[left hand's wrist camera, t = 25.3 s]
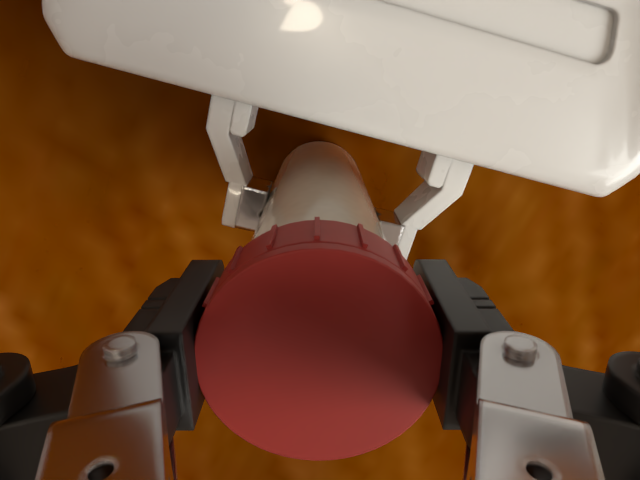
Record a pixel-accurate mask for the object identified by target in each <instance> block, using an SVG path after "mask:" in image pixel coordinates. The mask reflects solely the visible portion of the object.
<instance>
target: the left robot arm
mask: <svg viewBox="0 0 640 480" xmlns="http://www.w3.org/2000/svg"><path fill="white" fill-rule="evenodd" d="M413 270H414V272H415V274H416V276H417V275H419V274H420V276H421V278H422V280H423V282H424V284H425V286H426V288H427V290H428V292H429V294H430V296H431V298H432V300H433V302H434V304H432V305H431V307H432V310H433V312H434V314H435V316H436V318H437V321H438V323H439V326H440V330H441V334H442V338H443V349H442V359H441V368H440V377H439V384H438V387H437V390H436V393H435V394H434V396H433V401H434V404H435V407H436V410H437V413H438V416H439V419H440V422H441V425H442V427H443V430H461V431H462V433H463V436H464V439H465V441H466V447H465V454H464V465H463V476H462V480H640V352H620V353H616V354H614V355H612V356H611V357H610V359H609V361H608V365H607V368H606V372H605V373H599V372H594V371H589V370H583V369H578V368H573V367H568V366H564V365H562V364H561V359H560V356H559V354H558V353H557V351H556V350H555V349H554V348H553V347H552V346H550V345H549V344H548V343H546V342H544V341H543V340H541V339H539V338H536V337H534V336H531V335H528V334H525V333H520V332H514V331H513V329H512V328H511V327H510V325H509V324H508V322H507V321H506V320H505V318H504V317H503V316H502V314H501V313H500V312H499V310H498V309H496V306H495V305H494V304H493V302H492V301H491V300H489V297H488V295H487V294H486V293H485V291H484V290H483V289H482V287H480V286H479V285H477V284H476V283H474V282H472V281H471V280H469V279H467V278H457V276H456V275H455V273H454V272H453V270H452V269H451V267H450V266H449V264H448V263H447V261H446V260H416V261H415V263H414V269H413ZM223 271H224V265H223V262H222V260H192V261H191V262H190V264H189V265H188V267H187V268H186V270H185V271H184V273H183V274H182V276H181V277H180V278H171V279H169V280H167V281H166V282H164V283H162V284H161V285H159V286H157V287H156V288H155V289H154V291H153V292H152V293H151V295H150V296H149V297H148V300H146V301H145V303H144V304H143V305H142V307H141V309H139V311H138V312H137V313H136V315H135V316H134V317H133V319H132V320H131V321H130V323H129V324H128V325H127V327H126V328H125V329H124V331H123V332H120V333H115V334H112V335H109V336H106V337H104V338H101V339H99V340H97V341H96V342H94V343H92V344H91V345H90V346H88V347H87V348H86V349H85V350H84V351H83V353H82V354H81V356H80V359H79V364H78V365H75V366H71V367H67V368H62V369H57V370H51V371H46V372H41V373H35V374H33V372H32V369H31V365H30V361H29V359H28V358H27V357H26V356H24V355H22V354H18V353H0V480H178V476H177V465H176V454H175V447H174V440H173V436H174V433H175V431H176V430H194V428H195V425H196V422H197V419H198V416H199V414H200V411H201V408H202V405H203V402H204V399H205V397H204V395H203V393H202V391H201V389H200V386H199V383H198V376H197V367H196V358H195V348H194V342H195V335H196V331H197V328H198V324H199V321H200V319H201V317H202V315H203V313H204V310H205V307H202V305H203V303H204V301H205V299H206V297H207V295H208V293H209V291H210V289H211V287H212V285H213V283H214V281H215V279H216V277H219V278H220V277H221V275H222V273H223Z"/></svg>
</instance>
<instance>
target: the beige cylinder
mask: <svg viewBox="0 0 640 480" xmlns="http://www.w3.org/2000/svg"><path fill="white" fill-rule="evenodd" d="M315 217H320V220H331V221H339V222H344V223H349V224H352V225H355V226H357V225H358V223H359V224H362V225H363V228H364V229H366V230H368V231H370V232H372V233H374V234H376V235H378V236H380V237H381V238H383V239H384V240H386V237H385V235H384V232H383V230H382V227H381V225H380V222H379V220H378V217H377V215H376V212H375V210H374V207H373V205H372V202H371V200H370V197H369V195H368V192H367V189H366V187H365V184H364V182H363V179H362V177H361V174H360V172H359V169H358V167H357V165H356V163H355V161H354V159H353V158H352V157H351V156H350V154H349V153H348V152H346V151H345V150H344V149H343V148H341V147H339V146H337V145H335V144H333V143H329V142H323V141H314V142H309V143H306V144H303V145H301V146H299V147H297V148H296V149H294V150H293V151H292V152H291V153H290V154H289V155H288V156H287V157H286V158H285V160H284V161H283V163H282V165H281V167H280V170H279V172H278V175H277V177H276V180H275V182H274V185H273V187H272V190H271V192H270V195H269V197H268V200H267V202H266V205H265V207H264V210H263V212H262V215H261V217H260V220H259V222H258V224H257V227H256V229H255V232H254V234H253V237H252V239H251V241H252V240H253V239H255V238H257V237H258V236H260V235H261V234H263V233H265V232H267V231H270V230H271V228H272V226H273V225H275V224H277V227H279V226H283V225H286V224H289V223H294V222H299V221H305V220H315ZM386 241H387V240H386Z"/></svg>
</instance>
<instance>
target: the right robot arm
mask: <svg viewBox="0 0 640 480" xmlns="http://www.w3.org/2000/svg"><path fill="white" fill-rule="evenodd" d="M42 12H43V16H44V19H45V21H46V23H47V24H48V26H49V28H50V30H51V31H52V33H53V35H54V37H55V39H56V40H57V42H58V44H59V45H60V47H61V48H62V50H63V51H64V52H65V53H66V54H67V55H68V56H70V57H73V58H76V59H80V60H83V61H87V62H91V63H94V64H98V65H102V66H106V67H109V68H113V69H117V70H121V71H125V72H128V73H132V74H136V75H140V76H143V77H147V78H151V79H155V80H158V81H162V82H166V83H170V84H173V85H177V86H181V87H185V88H188V89H192V90H196V91H200V92H203V93H207V94H211V100H210V106H209V112H208V118H207V124H206V130H207V133H208V135H209V138H210V141H211V143H212V146H213V149H214V152H215V154H216V157H217V160H218V162H219V165H220V168H221V170H222V173H223V176H224V178H225V181H227V182H229V185H228V190H227V195H226V201H225V206H224V211H223V216H222V225H226V226H229V227H233V228H239V229H244V230H248V231H253V232H255V229H256V227H257V224H258V222H259V220H260V217H261V215H262V212H263V210H264V207H265V205H266V202H267V200H268V197H269V195H270V191H271V187H272V182H273V181H269V180H265V179H262V178H258V177H254V176H253V173H252V170H251V166H250V163H249V160H248V157H247V154H246V150H245V147H244V144H243V141H242V138H241V137H243V136H245V135H246V134H247V133H248V132H250V131H251V130H252V129H253V128H254V126H255V121H256V116H257V112H258V107H260V108H264V109H267V110H271V111H275V112H279V113H282V114H286V115H290V116H294V117H298V118H301V119H305V120H309V121H313V122H316V123H320V124H324V125H328V126H331V127H335V128H339V129H343V130H346V131H350V132H354V133H358V134H361V135H365V136H369V137H373V138H377V139H380V140H384V141H388V142H392V143H395V144H399V145H403V146H407V147H410V148H414V149H418V150H422V152H421V155H420V159H419V162H418V165H417V168H416V171H417V173H418V174H419V175H420V176H421V177H422V178H423V179H424V180H425V181H424V182H423V183H422V184H421V185H420V186H419V187H418V188H417V189H416V190H415V191H414V192H413V193H412V194H411V195H409V196H408V197H407V198H406V199H405V200H404V201H403V202H402V203H401V204H400V205H399V206H398V207H397V208H396V209H395V210H394V211H389V210H385V209H380V208H376V207H375V209H374V210H375V212H376V215H377V217H378V220H379V222H380V225H381V227H382V230H383V232H384V235H385V237H386V240H387V242H389V243H390V244H391V245H392V246H393V245H394V244H396V245H397V246H398V247H399V249H400V251H401V253H402V256H403V257H404V258H405V259H406V260H407V257H408V254H409V252H410V249H411V246H412V243H413V240H414V238H415V235H416V232H417V229H419V230H421V229H422V228H424V227H425V226H426V225H427V224H428V223H429V222H431V221H432V220H433V219H434V218H435V217H437V216H438V215H439V214H440V213H441V212H443V211H444V210H445V209H446V208H447V207H448V206H450V205H451V204H452V203H453V202H454V201H456V200H457V199H458V198H459V197H460V196H462V194H463V191H464V189H465V186H466V184H467V181H468V178H469V176H470V173H471V171H472V168H473V165H478V166H482V167H486V168H489V169H493V170H497V171H501V172H504V173H508V174H512V175H516V176H519V177H523V178H527V179H531V180H534V181H538V182H542V183H546V184H550V185H553V186H557V187H561V188H565V189H568V190H572V191H576V192H580V193H584V194H587V195H591V196H595V197H604V196H606V195H608V194H610V193H612V192H613V191H615V190H617V189H618V188H620V187H621V186H623V185H625V184H626V183H628V182H629V181H631V180H632V179H633V178H635V177H636V176H637V175H638V174H639V173H640V0H42Z"/></svg>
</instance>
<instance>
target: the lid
mask: <svg viewBox="0 0 640 480" xmlns="http://www.w3.org/2000/svg"><path fill="white" fill-rule="evenodd" d="M432 304H434V302H433V300H432V298H431V296H430V294H429V292H428V290H427V288H426V286H425V284H424V282H423V280H422V278H421V276H420V274H419V275H417V276H416V274H415V272H414V270H413V269H412V267H411V266H410V264H409V263H408V261H407V260H406V259H405V258H404V257H403V256H402V253H401V251H400V249H399V247H398V246H397V245H396V244H394V245H393V246H392V245H391V244H390V243H389V242H387V241H386V240H384V239H383V238H381V237H380V236H378V235H376V234H374V233H372V232H370V231H368V230H366V229H364V228H363V225H362V224H359V223H358V225H357V226H355V225H352V224H349V223H344V222H339V221H331V220H320V217H315V220H305V221H299V222H294V223H289V224H286V225H283V226H279V227H277V224H275V225H273V226H272V228H271V230H270V231H267V232H265V233H263V234H261V235H260V236H258V237H257V238H255V239H253V240H252V241H250V242H249V243H248V244H247V245H246V246H244V247H243V248H242V247H241V246H239V247H238V248H237V250H236V252H235V254H234V256H233V258H232V260H231V261H230V262H229V264H228V265H227V267H226V268H225V270H224V271H223V273H222V275H221V277H220V278H219V277H216V279H215V281H214V283H213V285H212V287H211V289H210V291H209V293H208V295H207V297H206V299H205V301H204V303H203V305H202V307H205V310H204V313H203V315H202V317H201V319H200V321H199V324H198V328H197V331H196V335H195V342H194V348H195V358H196V367H197V376H198V383H199V386H200V389H201V391H202V393H203V395H204V397H205V399H206V401H207V403H208V404H209V406H210V407H211V409H212V410H213V412H214V413H215V414H216V416H217V417H218V418H219V419H220V420H221V421H222V422H223V423H224V424H225V425H226V426H227V427H228V428H229V429H231V430H232V431H233V432H234V433H235V434H237V435H238V436H240V437H241V438H243V439H244V440H246V441H247V442H249V443H251V444H253V445H255V446H257V447H259V448H261V449H263V450H266V451H269V452H271V453H274V454H278V455H281V456H285V457H289V458H295V459H302V460H317V461H319V460H335V459H342V458H348V457H352V456H356V455H360V454H363V453H366V452H369V451H372V450H374V449H377V448H379V447H381V446H383V445H385V444H387V443H389V442H390V441H392V440H393V439H395V438H396V437H398V436H399V435H401V434H402V433H403V432H405V431H406V430H407V429H408V428H409V427H411V426H412V425H413V424H414V423H415V421H416V420H417V419H418V418H419V417H420V416H421V415H422V414H423V412H424V411H425V409H426V408H427V407H428V405H429V404H430V402H431V400H432V398H433V396H434V394H435V393H436V390H437V387H438V384H439V377H440V368H441V359H442V349H443V338H442V334H441V330H440V326H439V323H438V321H437V318H436V316H435V314H434V312H433V310H432V307H431V305H432Z"/></svg>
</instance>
